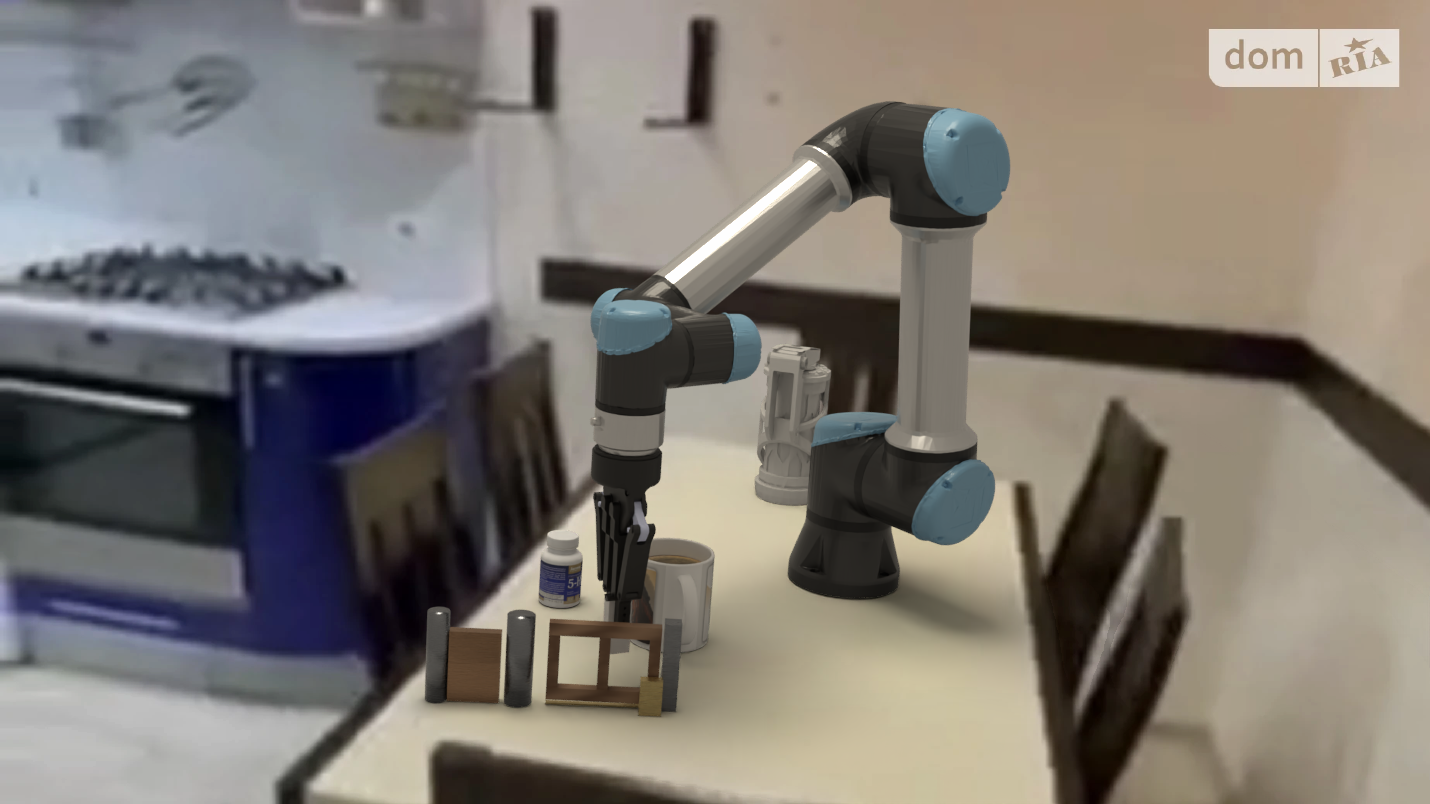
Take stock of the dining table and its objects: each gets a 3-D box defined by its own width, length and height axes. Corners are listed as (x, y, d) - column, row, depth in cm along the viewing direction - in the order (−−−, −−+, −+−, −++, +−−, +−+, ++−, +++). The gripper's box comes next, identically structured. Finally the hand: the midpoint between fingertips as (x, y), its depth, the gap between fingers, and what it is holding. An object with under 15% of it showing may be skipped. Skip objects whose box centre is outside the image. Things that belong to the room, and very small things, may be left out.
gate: (545, 699, 170) (549, 622, 168) (546, 694, 171) (550, 618, 169) (656, 704, 171) (662, 628, 169) (656, 700, 172) (662, 624, 170)
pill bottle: (573, 611, 197) (577, 544, 195) (533, 605, 198) (536, 538, 196) (585, 597, 202) (589, 531, 200) (545, 591, 203) (549, 525, 201)
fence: (656, 701, 173) (662, 616, 171) (656, 713, 171) (663, 626, 168) (426, 691, 172) (429, 605, 169) (423, 703, 169) (426, 615, 166)
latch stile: (675, 704, 173) (681, 619, 171) (676, 717, 170) (683, 630, 168) (637, 703, 173) (643, 617, 170) (638, 715, 170) (644, 628, 167)
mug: (724, 632, 194) (731, 547, 192) (691, 667, 183) (698, 577, 180) (644, 616, 197) (650, 532, 195) (607, 650, 186) (612, 561, 184)
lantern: (764, 482, 257) (777, 331, 251) (826, 493, 254) (841, 340, 248) (739, 503, 245) (752, 345, 239) (804, 514, 242) (818, 355, 236)
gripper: (574, 431, 174) (564, 631, 179) (615, 465, 162) (603, 678, 168) (638, 428, 177) (626, 625, 183) (683, 461, 165) (669, 671, 171)
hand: (615, 650), depth 175 cm, fingers closed
